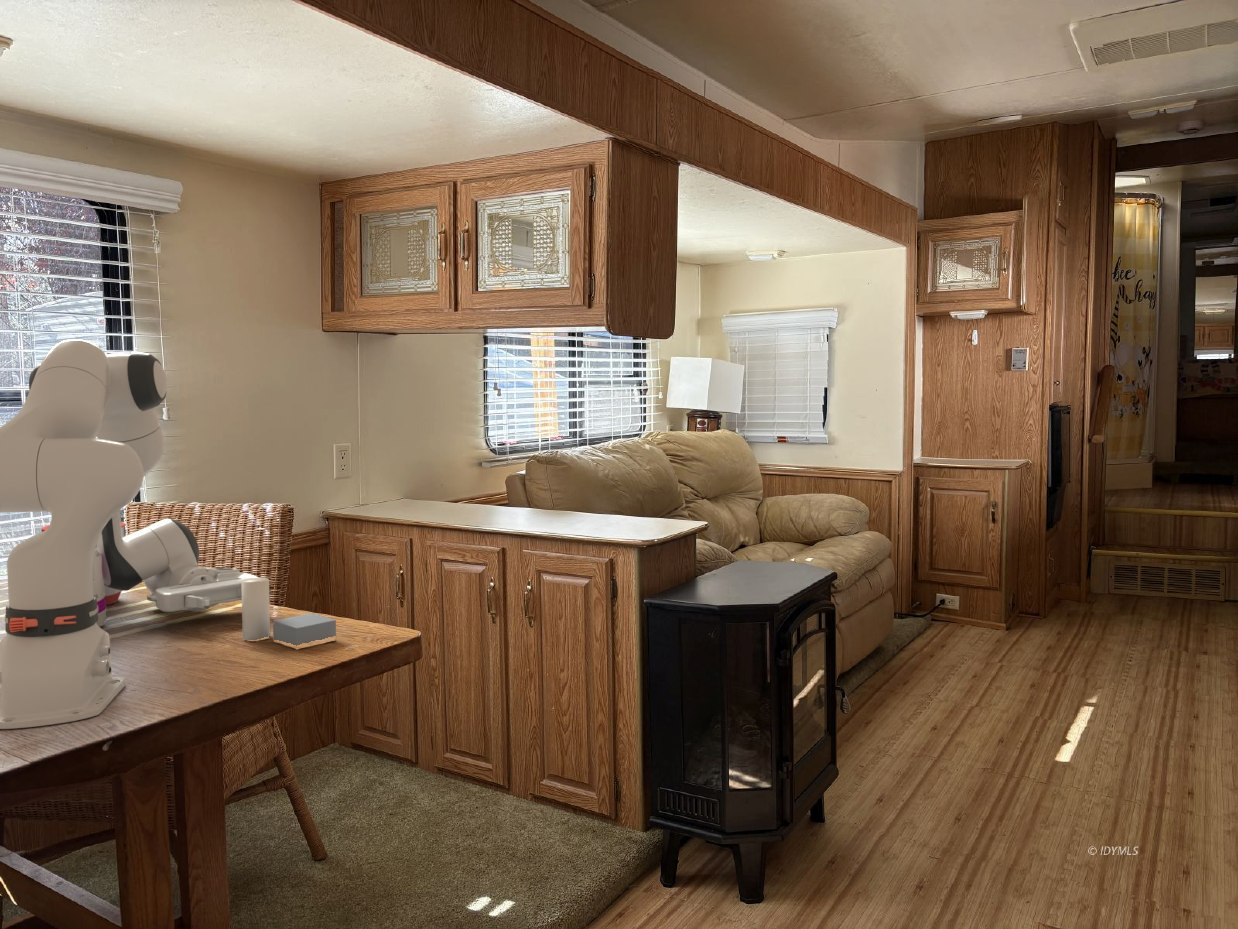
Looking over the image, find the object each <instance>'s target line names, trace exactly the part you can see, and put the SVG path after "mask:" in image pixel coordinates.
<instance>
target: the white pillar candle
mask: <svg viewBox="0 0 1238 929" xmlns="http://www.w3.org/2000/svg"><path fill="white" fill-rule="evenodd" d="M241 586H242V600H241V621H242V623H241V624H242V626H241V627H242V630H241V631H242V640H243V639H245V640H257V639H261V638H264V637H268V636H270V637H271V621H270V620H271V616H270V614H271V613H270V610H271V609H270V579H269V578H267V577H260V578H248V579H244V580H242V581H241Z"/></svg>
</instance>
